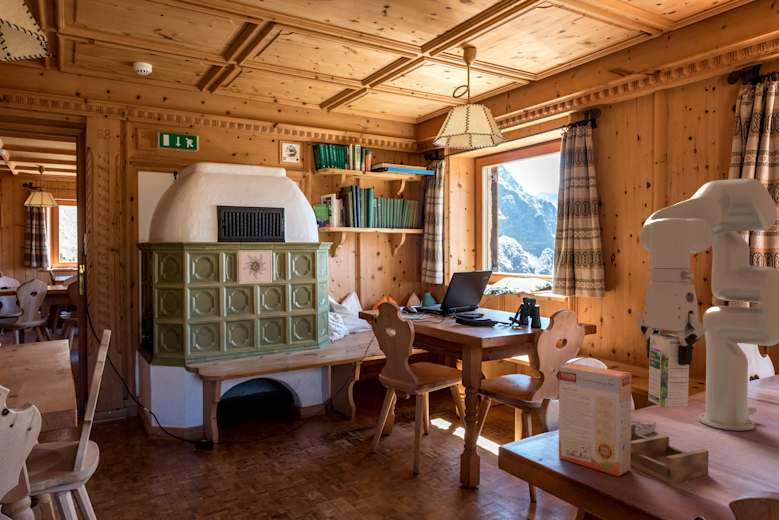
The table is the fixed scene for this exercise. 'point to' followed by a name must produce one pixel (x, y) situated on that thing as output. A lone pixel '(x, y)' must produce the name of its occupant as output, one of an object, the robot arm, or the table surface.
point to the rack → (666, 458)
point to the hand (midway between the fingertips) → (668, 360)
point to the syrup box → (667, 372)
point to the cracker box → (595, 417)
